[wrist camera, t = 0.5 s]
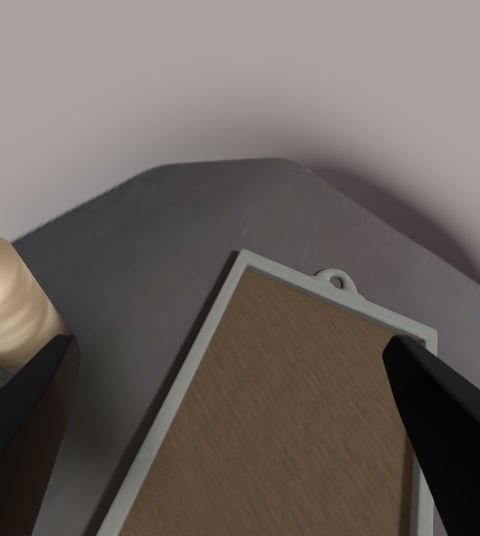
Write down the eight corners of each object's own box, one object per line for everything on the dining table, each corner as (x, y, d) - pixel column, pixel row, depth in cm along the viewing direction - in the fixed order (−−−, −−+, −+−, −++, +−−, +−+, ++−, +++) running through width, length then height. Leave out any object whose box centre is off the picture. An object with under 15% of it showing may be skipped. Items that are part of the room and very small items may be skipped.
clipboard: (29, 664, 15) (251, 227, 32) (41, 649, 16) (248, 237, 33) (426, 884, 14) (439, 305, 31) (404, 847, 15) (427, 313, 32)
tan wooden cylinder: (50, 384, 22) (-22, 326, 14) (-16, 367, 22) (-127, 299, 14) (82, 324, 25) (36, 246, 17) (23, 308, 25) (-52, 222, 17)
